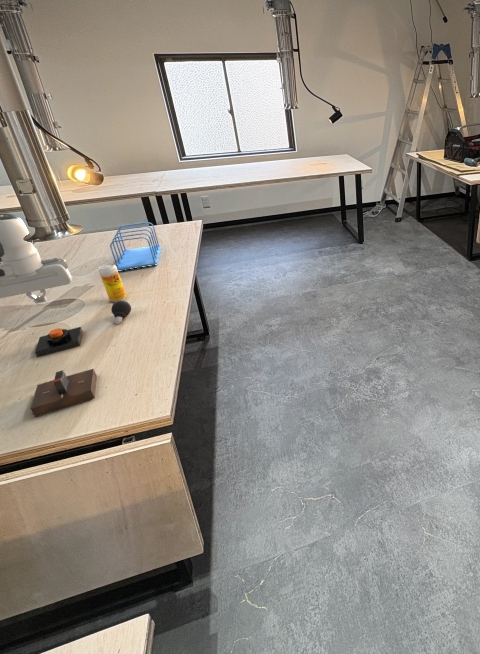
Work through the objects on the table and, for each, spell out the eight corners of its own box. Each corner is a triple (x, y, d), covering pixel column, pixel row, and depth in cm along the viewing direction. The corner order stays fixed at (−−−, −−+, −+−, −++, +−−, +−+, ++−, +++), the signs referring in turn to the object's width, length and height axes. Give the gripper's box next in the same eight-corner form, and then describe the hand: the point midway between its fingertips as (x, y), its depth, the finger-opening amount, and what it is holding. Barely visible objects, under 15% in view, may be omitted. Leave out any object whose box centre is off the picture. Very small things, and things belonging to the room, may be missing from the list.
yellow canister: (119, 303, 167) (107, 270, 160) (106, 302, 168) (94, 269, 161) (130, 295, 172) (118, 263, 166) (117, 294, 173) (105, 262, 167)
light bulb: (105, 318, 149) (111, 297, 155) (109, 328, 153) (114, 307, 160) (126, 318, 151) (131, 297, 158) (128, 328, 155) (133, 307, 162)
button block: (37, 357, 136) (32, 347, 134) (42, 342, 144) (37, 332, 142) (80, 346, 141) (76, 336, 139) (82, 331, 149) (78, 322, 147)
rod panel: (34, 417, 112) (29, 408, 111) (41, 392, 121) (36, 384, 119) (94, 398, 118) (90, 389, 117) (96, 376, 127) (93, 368, 125)
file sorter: (157, 266, 198) (148, 236, 191) (116, 273, 192) (105, 242, 185) (161, 247, 219) (153, 220, 212) (124, 253, 213) (115, 225, 206)
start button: (49, 339, 139) (47, 335, 138) (51, 334, 142) (49, 330, 141) (62, 336, 140) (60, 332, 139) (64, 331, 143) (62, 327, 142)
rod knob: (61, 382, 120) (55, 371, 118) (68, 380, 121) (63, 369, 119) (58, 394, 116) (52, 382, 114) (66, 391, 116) (60, 380, 114)
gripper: (65, 253, 136) (79, 289, 142) (-15, 267, 127) (4, 305, 133) (62, 259, 131) (78, 297, 137) (-21, 275, 122) (0, 314, 128)
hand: (41, 301), depth 135 cm, fingers closed
